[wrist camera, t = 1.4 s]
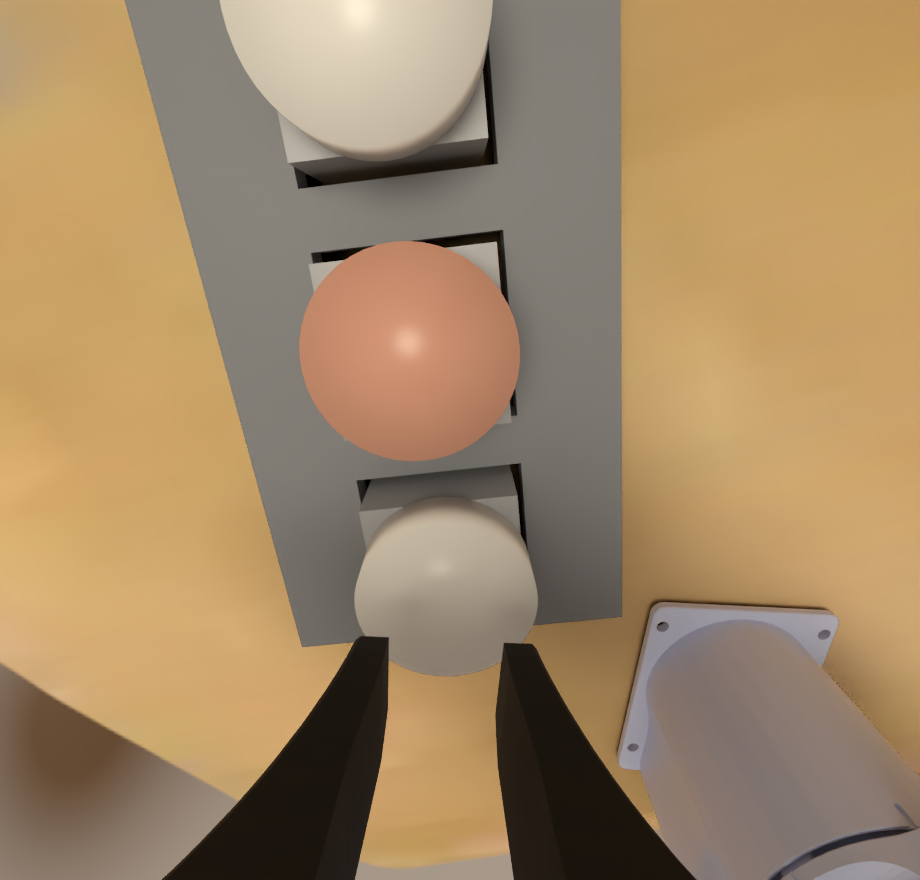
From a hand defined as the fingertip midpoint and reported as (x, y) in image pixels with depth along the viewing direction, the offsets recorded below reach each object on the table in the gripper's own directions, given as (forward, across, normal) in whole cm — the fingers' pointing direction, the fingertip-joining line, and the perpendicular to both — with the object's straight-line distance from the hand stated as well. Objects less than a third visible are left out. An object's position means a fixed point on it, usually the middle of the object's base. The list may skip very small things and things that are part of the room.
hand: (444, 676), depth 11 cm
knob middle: (+7, +1, -6) cm, 10 cm away
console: (+9, +1, -6) cm, 11 cm away
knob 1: (+7, +2, -13) cm, 15 cm away
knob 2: (+7, 0, 0) cm, 7 cm away
